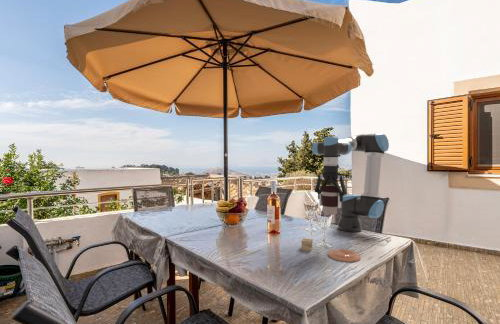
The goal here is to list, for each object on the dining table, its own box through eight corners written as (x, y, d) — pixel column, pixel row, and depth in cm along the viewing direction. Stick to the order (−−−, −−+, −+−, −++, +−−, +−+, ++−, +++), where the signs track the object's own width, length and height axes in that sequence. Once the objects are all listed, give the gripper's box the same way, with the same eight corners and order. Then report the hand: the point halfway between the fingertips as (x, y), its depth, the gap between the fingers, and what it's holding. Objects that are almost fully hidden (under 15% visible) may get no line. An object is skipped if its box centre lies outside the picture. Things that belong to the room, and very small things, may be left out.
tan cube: (302, 247, 149) (302, 237, 148) (312, 248, 147) (312, 238, 147) (301, 250, 144) (301, 240, 144) (311, 251, 142) (311, 241, 142)
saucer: (335, 249, 146) (335, 247, 146) (364, 255, 136) (364, 253, 136) (323, 256, 134) (323, 254, 134) (354, 264, 124) (354, 262, 124)
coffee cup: (326, 215, 143) (326, 186, 143) (317, 212, 153) (317, 184, 152) (343, 215, 145) (343, 186, 145) (333, 211, 155) (333, 184, 155)
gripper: (308, 164, 153) (307, 205, 153) (348, 166, 139) (348, 210, 139) (314, 164, 159) (314, 203, 159) (354, 165, 144) (353, 208, 145)
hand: (330, 206), depth 149 cm, fingers closed on coffee cup, 10 cm apart
